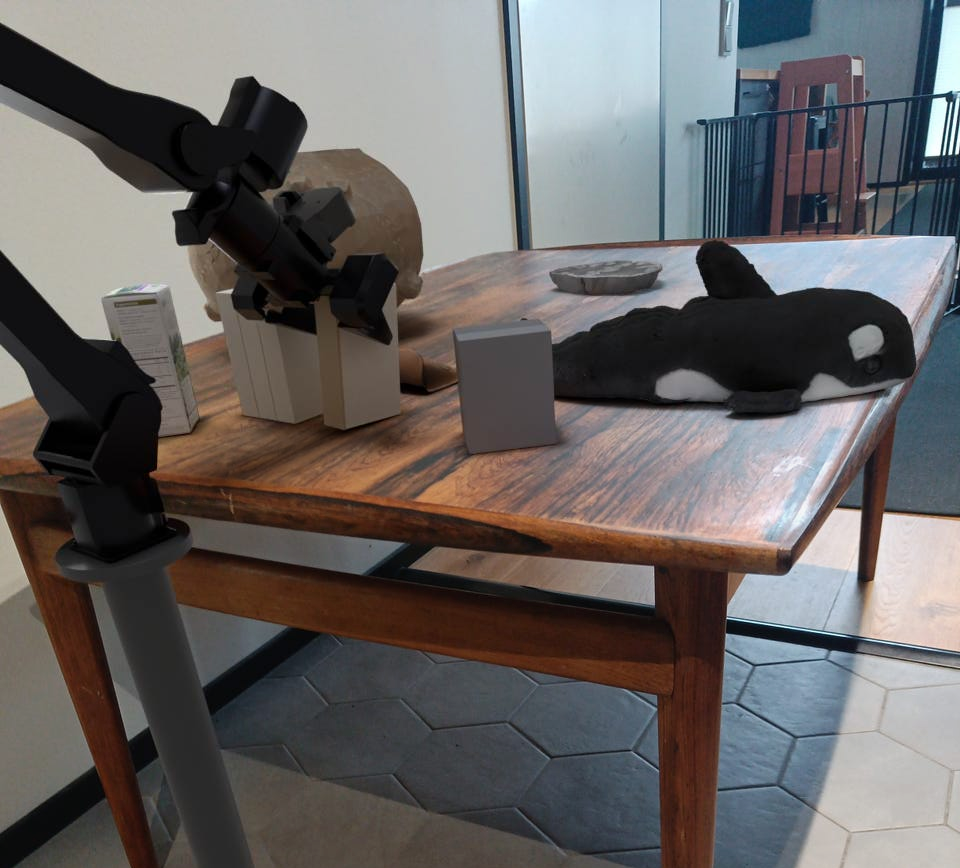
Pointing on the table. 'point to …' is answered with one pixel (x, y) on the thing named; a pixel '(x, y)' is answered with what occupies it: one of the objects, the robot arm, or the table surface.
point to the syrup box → (155, 349)
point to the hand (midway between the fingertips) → (365, 339)
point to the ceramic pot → (378, 229)
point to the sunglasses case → (425, 371)
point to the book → (357, 370)
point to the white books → (272, 367)
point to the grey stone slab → (607, 277)
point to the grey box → (505, 385)
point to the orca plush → (741, 345)
